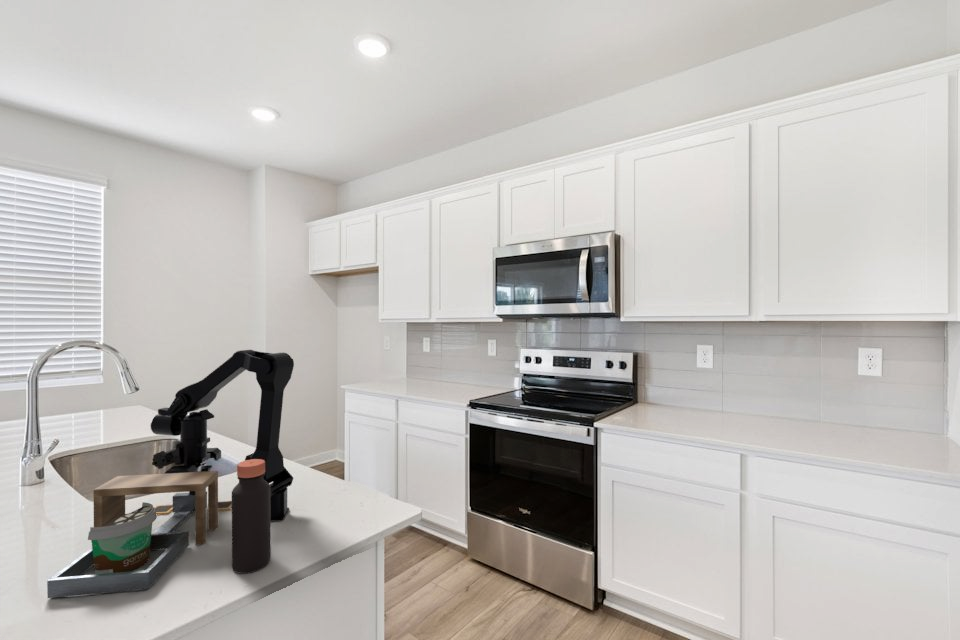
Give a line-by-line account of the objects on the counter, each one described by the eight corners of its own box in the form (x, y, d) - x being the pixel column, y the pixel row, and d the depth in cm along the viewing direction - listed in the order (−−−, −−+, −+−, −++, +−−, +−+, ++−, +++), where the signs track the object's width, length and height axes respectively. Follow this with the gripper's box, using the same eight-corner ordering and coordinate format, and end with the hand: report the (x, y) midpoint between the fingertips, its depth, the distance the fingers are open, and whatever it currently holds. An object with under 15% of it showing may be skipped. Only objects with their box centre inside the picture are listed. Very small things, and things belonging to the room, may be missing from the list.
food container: (118, 585, 82) (118, 530, 82) (87, 583, 83) (87, 528, 83) (172, 550, 94) (171, 502, 94) (145, 548, 95) (144, 501, 95)
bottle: (246, 554, 93) (246, 456, 93) (277, 556, 92) (277, 458, 92) (223, 572, 86) (223, 467, 86) (256, 575, 85) (256, 469, 85)
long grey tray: (225, 506, 116) (225, 490, 116) (148, 589, 81) (148, 566, 81) (157, 510, 113) (157, 494, 113) (47, 598, 78) (47, 574, 78)
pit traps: (236, 502, 119) (236, 500, 119) (229, 510, 114) (229, 508, 114) (156, 507, 116) (156, 505, 116) (145, 515, 111) (145, 513, 111)
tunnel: (218, 527, 105) (217, 471, 105) (203, 544, 97) (202, 483, 97) (117, 534, 101) (117, 476, 101) (93, 552, 93) (93, 489, 93)
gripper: (177, 428, 123) (178, 485, 123) (137, 449, 105) (138, 516, 105) (221, 426, 125) (222, 483, 125) (189, 446, 107) (190, 512, 107)
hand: (194, 497), depth 116 cm, fingers closed
